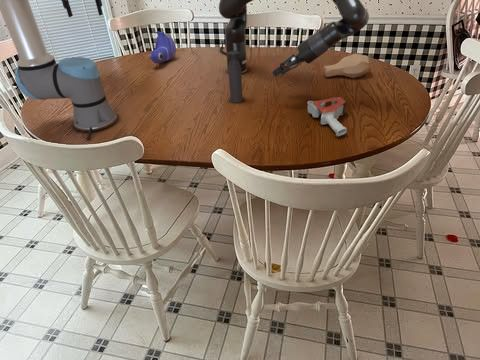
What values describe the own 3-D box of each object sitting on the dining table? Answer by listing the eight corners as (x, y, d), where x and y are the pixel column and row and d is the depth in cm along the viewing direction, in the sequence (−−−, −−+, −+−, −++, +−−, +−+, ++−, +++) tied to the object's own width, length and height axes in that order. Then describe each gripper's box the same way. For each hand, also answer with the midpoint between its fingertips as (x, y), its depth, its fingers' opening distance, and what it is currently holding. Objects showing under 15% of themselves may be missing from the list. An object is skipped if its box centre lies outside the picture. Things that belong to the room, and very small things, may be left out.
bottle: (244, 98, 144) (242, 52, 133) (239, 103, 141) (236, 56, 130) (233, 97, 146) (230, 51, 135) (228, 101, 142) (224, 55, 131)
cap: (241, 57, 134) (241, 51, 133) (236, 60, 131) (236, 54, 130) (231, 56, 136) (231, 50, 134) (226, 59, 133) (225, 53, 131)
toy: (164, 63, 199) (144, 69, 176) (159, 31, 192) (138, 32, 170) (181, 62, 196) (162, 68, 174) (177, 30, 190) (157, 31, 167)
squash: (372, 78, 155) (374, 59, 148) (326, 86, 156) (326, 68, 150) (365, 66, 162) (367, 47, 156) (321, 74, 164) (321, 56, 157)
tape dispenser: (341, 143, 115) (361, 114, 127) (344, 129, 111) (364, 101, 124) (292, 129, 122) (315, 103, 135) (293, 115, 119) (316, 90, 131)
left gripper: (102, -44, 147) (116, 12, 160) (44, -40, 148) (61, 15, 160) (96, -42, 141) (111, 15, 153) (35, -38, 142) (54, 19, 154)
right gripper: (313, 38, 132) (278, 64, 140) (303, 37, 120) (265, 65, 128) (323, 56, 132) (288, 80, 141) (314, 56, 120) (276, 83, 128)
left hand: (85, 15), depth 157 cm, fingers open, 13 cm apart
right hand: (277, 73), depth 134 cm, fingers open, 8 cm apart
